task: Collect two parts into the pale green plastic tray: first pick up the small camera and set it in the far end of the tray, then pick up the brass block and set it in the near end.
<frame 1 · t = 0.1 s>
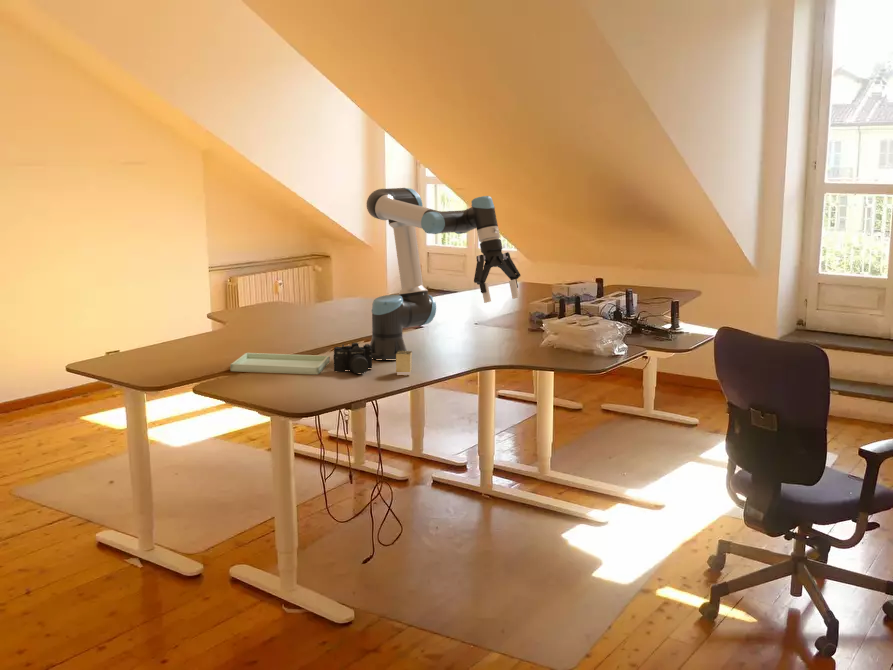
hand: (502, 300, 307), 28 cm above the table, tool tilted 20°, fingers open, 13 cm apart
camera: (354, 373, 317), on the table
tray: (281, 366, 323), on the table
brass block: (404, 374, 316), on the table
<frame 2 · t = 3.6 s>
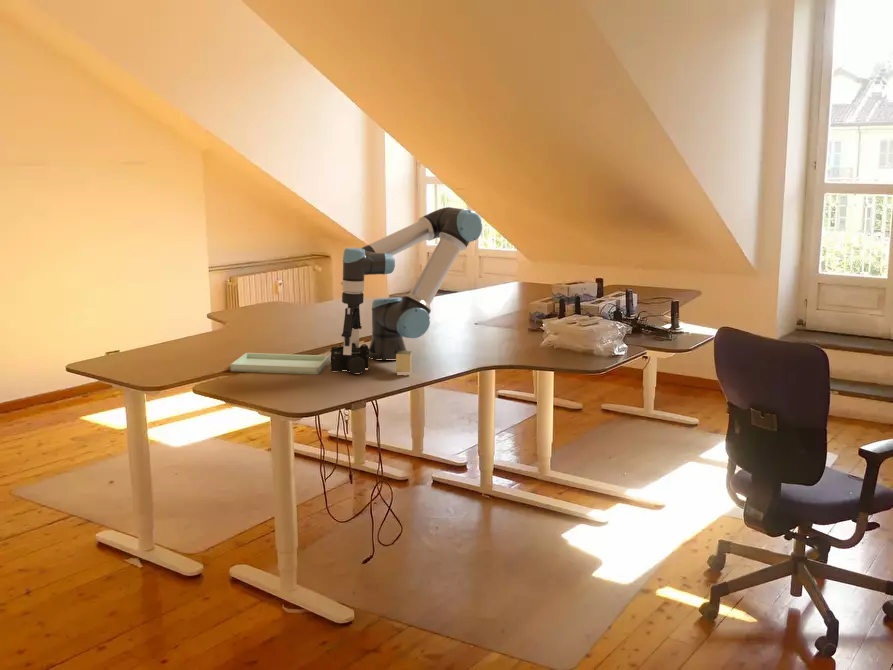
hand: (351, 350, 315), 8 cm above the table, tool pointing down, fingers open, 13 cm apart
camera: (351, 373, 317), on the table, touching gripper
everything else where it was.
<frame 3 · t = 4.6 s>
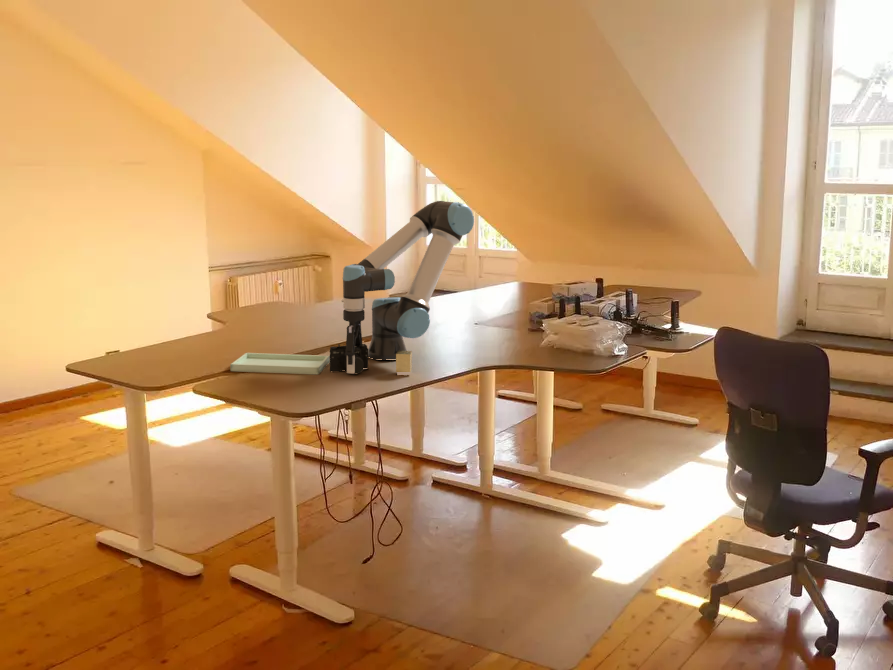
hand: (354, 368, 317), 1 cm above the table, tool pointing down, fingers closed on camera, 12 cm apart
camera: (350, 372, 317), on the table, touching gripper
everything else where it was.
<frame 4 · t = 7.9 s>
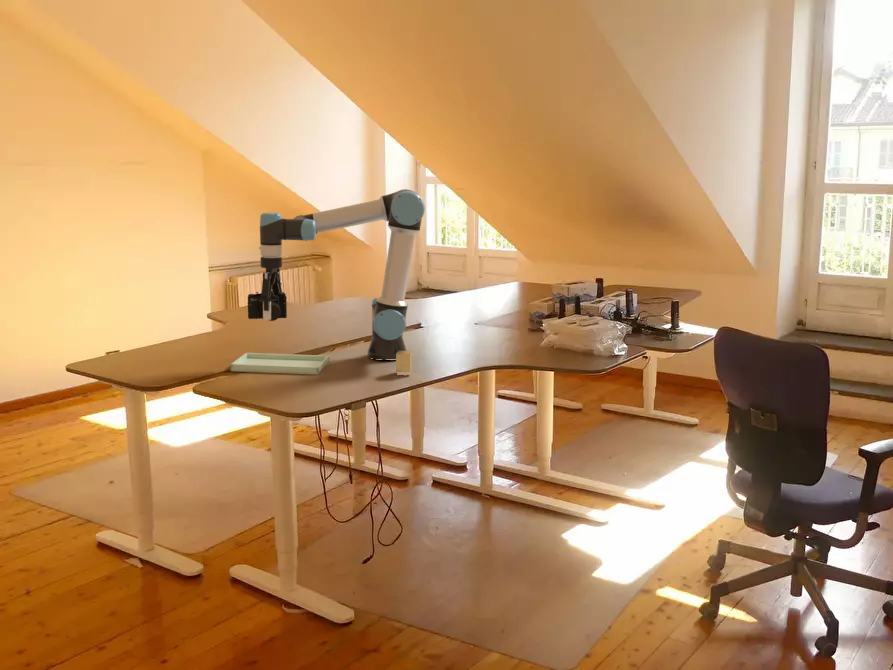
hand: (271, 316, 319), 19 cm above the table, tool pointing down, fingers closed on camera, 12 cm apart
camera: (267, 320, 319), point 17 cm above the table, touching gripper
everything else where it was.
when the fingers open (4 cm above the table, at t = 11.6 s): camera drops 2 cm, resting on tray.
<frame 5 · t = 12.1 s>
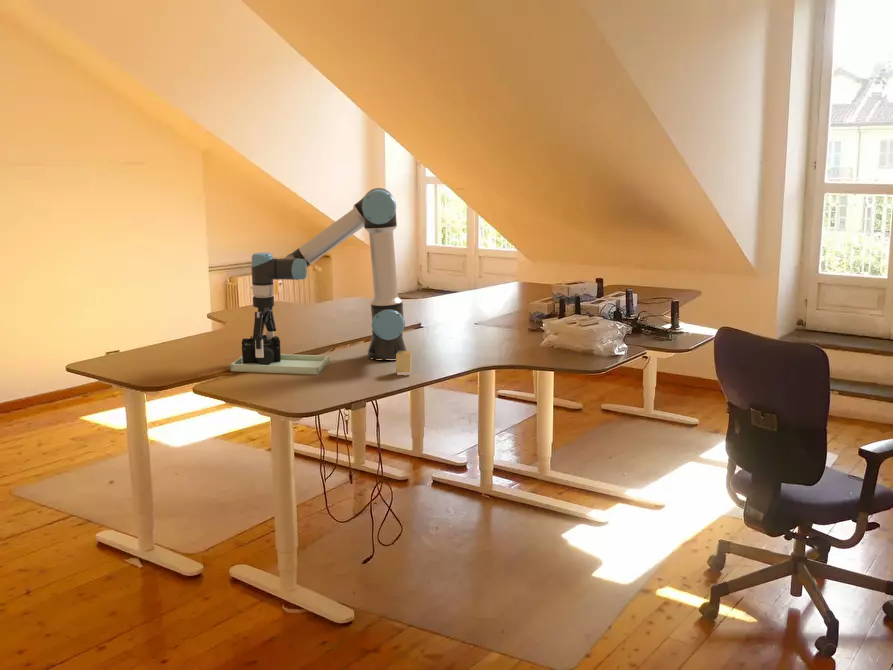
hand: (265, 353, 323), 5 cm above the table, tool pointing down, fingers open, 13 cm apart
camera: (261, 364, 324), point 1 cm above the table, touching tray
everything else where it was.
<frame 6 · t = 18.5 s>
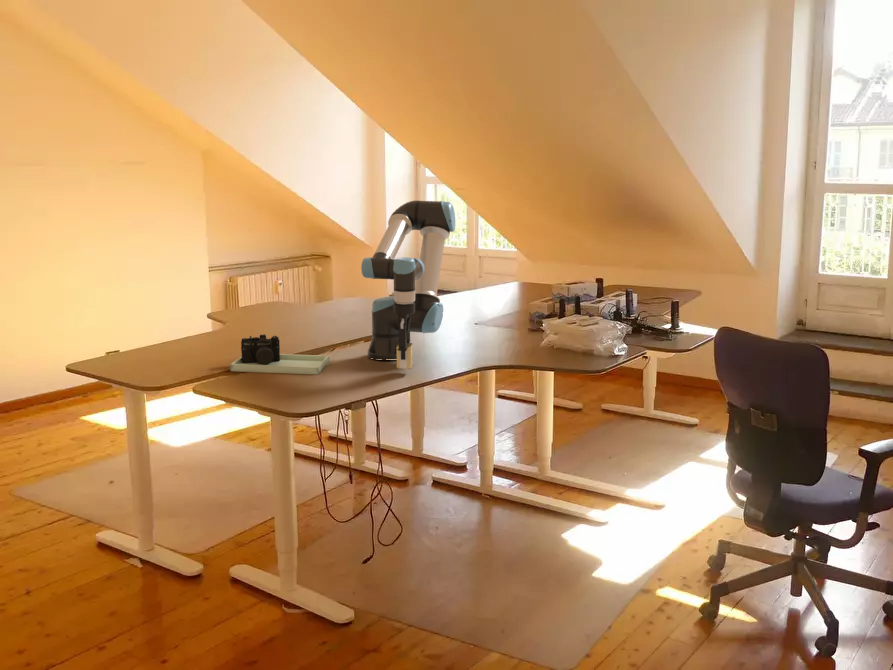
hand: (404, 365, 316), 3 cm above the table, tool pointing down, fingers closed on brass block, 5 cm apart
brass block: (404, 366, 316), point 3 cm above the table, touching gripper
everything else where it was.
when the fingers open (2 cm above the table, at t = 24.0 s): brass block stays where it is, resting on tray.
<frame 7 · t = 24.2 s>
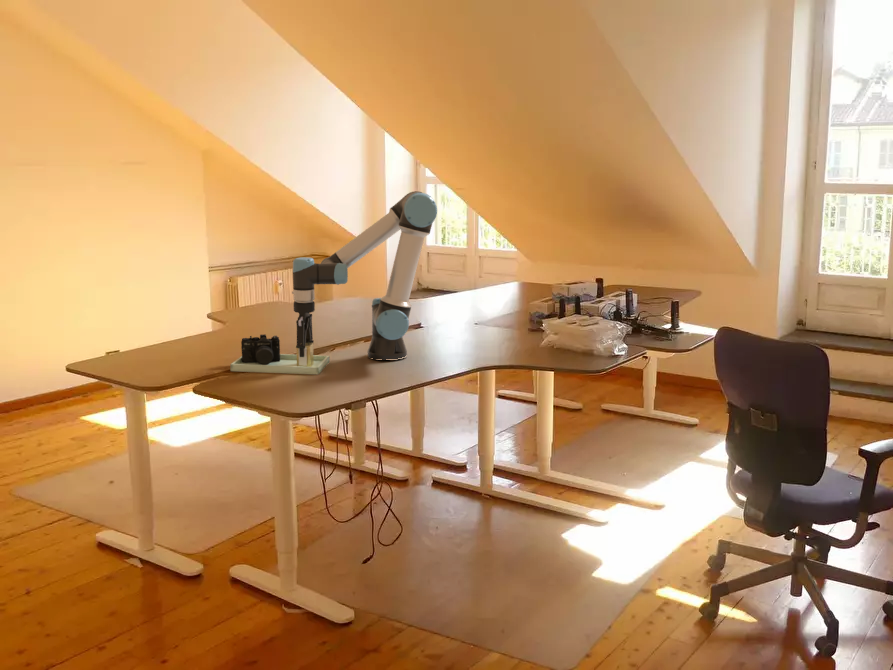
hand: (305, 362, 322), 2 cm above the table, tool pointing down, fingers open, 7 cm apart
brass block: (305, 365, 322), point 1 cm above the table, touching tray
everything else where it was.
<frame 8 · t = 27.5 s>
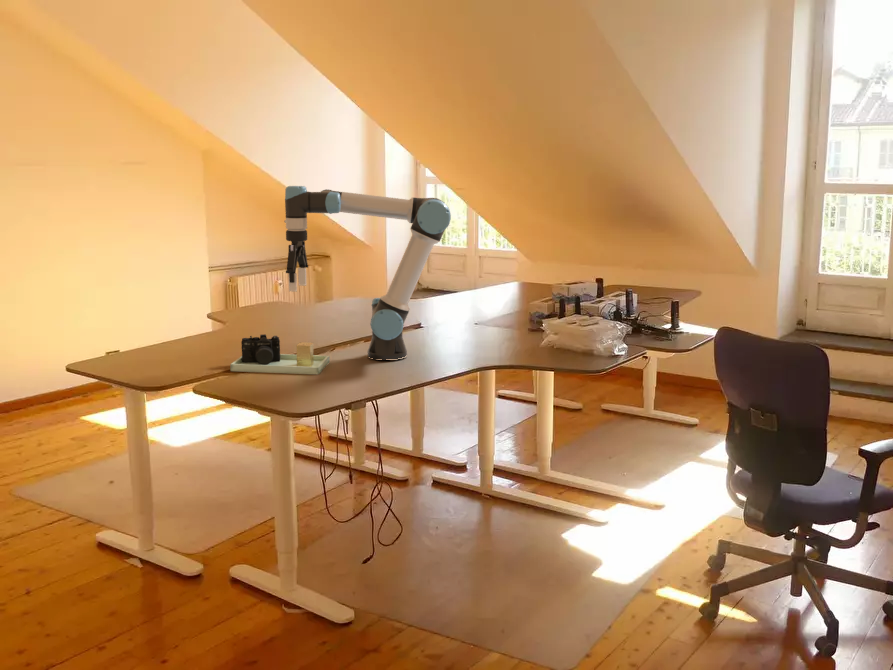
hand: (297, 288, 320), 29 cm above the table, tool pointing down, fingers open, 13 cm apart
nothing on the table moved.
at the end: camera inside the target area on the tray (7.7 cm from its centre), point 0.6 cm above the tray's base; brass block inside the target area on the tray (9.0 cm from its centre), point 0.8 cm above the tray's base; the gripper is holding nothing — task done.
